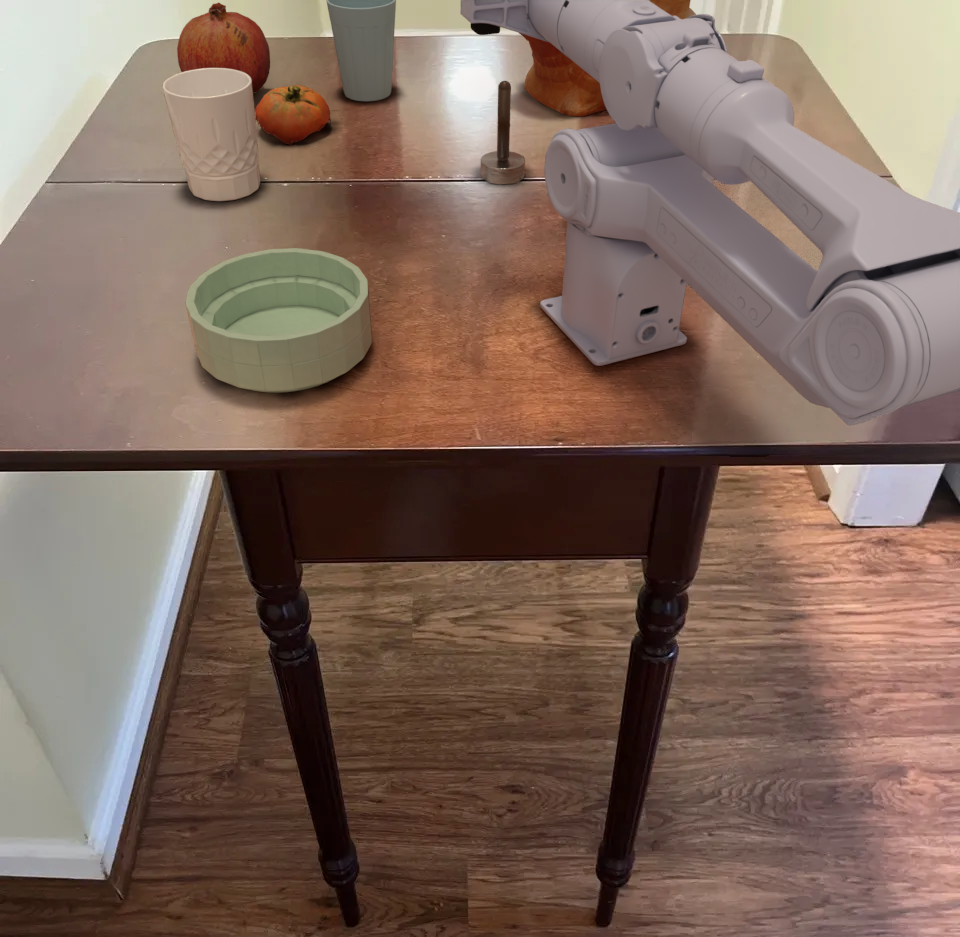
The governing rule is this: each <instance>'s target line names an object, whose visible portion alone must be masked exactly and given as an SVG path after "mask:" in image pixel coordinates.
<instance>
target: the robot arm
mask: <svg viewBox="0 0 960 937" xmlns="http://www.w3.org/2000/svg"><path fill="white" fill-rule="evenodd" d="M460 15H461V16H462V17H463V18H464V19H465V20H467V21H468V22H469V23H470V29H471V30H472V31H473V32H474V33H475V34H476V35H479V36H489V35H494V34H495V35H497V34H500V32H501V28H503V29H506V30H509V31H511V32H515V33H518V34H519V33H521V34H524V35H528V36H531V37H534V38H537V39H540V40H543V41H547V42H550V43H551V44H552V45H554V46H555V47H556V48H557V49H558V50H560V51H561V52H562V53H563V54H565V55H566V56H567V57H568V58H570V59H571V60H572V61H573V62H575V63H576V64H577V65H578V66H579V67H581V68H582V69H583V70H584V71H586V72H587V73H588V74H589V75H590V76H592V77H593V78H594V79H595V80H597V81H598V82H599V83H600V88H601V93H602V97H603V101H604V104H605V107H606V109H607V110H606V111H607V113H608V115H609V116H610V118H611V119H612V120H613V121H614V123H608V124H601V125H596V126H591V127H584V128H583V127H582V128H578V129H573V128H571V127H570V128H563V129H559V130H558V131H556V133H555V134H554V135H553V136H552V138H551V140H550V142H549V145H548V147H547V150H546V153H545V157H544V166H543V167H544V172H543V173H544V182H545V186H546V191H547V195H548V197H549V200H550V203H551V205H552V207H553V208H554V210H555V212H557V213H558V214H559V216H560V217H561V218H562V219H563V221H566V237H565V250H564V266H563V278H562V279H563V280H562V293H561V295H558V296H555V297H549V298H545V299H542V300H541V301H540V304H539V307H540V308H541V310H542V311H543V312H544V313H545V314H546V315H547V316H548V317H549V318H550V319H551V320H552V321H553V322H554V323H555V325H556V326H557V327H558V328H559V329H560V330H561V331H562V332H563V334H565V336H566V337H567V338H568V339H569V340H570V341H571V342H572V343H573V344H574V345H575V347H577V349H578V350H580V352H581V353H582V354H583V355H584V356H585V357H586V358H587V359H588V360H589V361H590V362H591V363H592V364H593V365H594V366H597V367H601V366H605V365H610V364H613V363H617V362H621V361H626V360H629V359H633V358H637V357H641V356H644V355H648V354H653V353H656V352H660V351H663V350H664V351H665V350H669V349H673V348H676V347H679V346H683V345H686V344H687V340H688V337H687V336H686V335H685V334H684V333H683V332H682V331H681V330H680V328H681V320H682V315H683V309H684V303H685V297H686V290H687V285H688V286H689V287H690V288H691V289H692V291H694V292H695V293H696V294H697V295H698V296H699V297H700V298H701V299H702V300H703V301H704V302H705V303H706V304H707V305H708V306H709V307H711V309H713V310H714V311H715V312H716V314H718V316H719V317H720V318H722V320H724V322H726V323H727V324H728V325H729V326H730V327H731V328H732V329H733V330H734V331H735V332H736V333H737V334H738V335H739V336H740V337H741V338H742V339H743V340H744V341H745V342H746V343H747V344H748V345H749V346H750V347H751V348H752V349H753V350H754V351H756V353H758V355H760V357H762V359H764V361H765V362H767V364H769V365H770V366H771V368H773V369H774V370H775V371H776V372H777V373H778V375H779V376H781V377H782V378H783V379H784V380H785V381H786V382H787V383H788V384H789V385H790V386H791V387H792V388H793V389H794V390H795V391H796V392H797V393H798V394H799V395H800V396H801V397H802V398H804V399H805V400H806V401H808V402H809V403H810V404H813V405H815V406H819V407H822V408H827V409H830V410H831V411H832V412H833V413H834V414H835V415H837V417H838V418H840V419H841V420H842V421H843V422H844V423H845V424H846V426H850V427H852V426H856V425H859V424H862V423H866V422H868V421H871V420H874V419H877V418H880V417H883V416H885V415H888V414H892V413H894V412H895V411H896V410H898V409H902V408H905V407H909V406H912V405H915V404H918V403H921V402H925V401H928V400H931V399H935V398H938V397H940V396H944V395H948V394H953V393H956V392H960V212H958V211H955V210H953V209H950V208H948V207H944V206H941V205H938V204H936V203H932V202H930V201H927V200H924V199H921V198H919V197H917V196H914V195H913V194H911V193H909V192H907V191H906V190H904V189H902V188H900V187H898V186H897V185H896V184H893V183H892V182H890V181H889V180H886V179H885V178H883V177H881V176H880V175H878V174H876V173H875V172H872V171H871V170H870V169H868V168H866V167H864V166H863V165H861V164H859V163H857V162H856V161H854V160H852V159H851V158H849V157H848V156H846V155H844V154H842V153H841V152H839V151H837V150H835V149H833V148H832V147H830V146H828V145H827V144H825V143H823V142H822V141H820V140H818V139H816V138H815V137H813V136H811V135H810V134H808V133H806V132H804V131H803V130H801V129H799V128H798V127H796V126H795V110H794V106H793V103H792V100H791V98H790V97H789V96H788V94H787V93H786V92H785V91H784V90H782V89H780V88H779V87H778V86H776V85H775V84H773V83H772V82H770V81H769V80H768V79H766V78H765V77H763V76H764V72H765V68H764V66H762V65H761V64H759V63H758V62H756V60H755V61H754V60H753V59H747V60H742V61H741V60H738V59H737V58H735V57H733V56H732V55H730V54H729V53H728V49H727V45H726V43H725V41H724V38H723V36H722V34H721V33H720V32H719V30H718V29H717V27H716V19H715V17H714V16H713V15H711V14H707V13H698V14H696V15H693V16H690V17H689V18H687V19H680V18H678V17H677V16H671V15H670V14H668V13H667V12H665V11H664V10H662V9H661V8H659V7H658V6H656V5H655V4H653V3H652V2H650V0H460ZM521 34H520V35H521ZM715 181H717V182H719V183H721V184H724V185H729V186H734V185H735V186H736V185H742V184H745V183H748V182H751V183H752V185H754V187H756V188H757V189H758V190H759V191H760V192H761V193H762V194H763V195H764V196H765V197H766V198H767V199H768V200H769V201H770V203H772V204H773V205H774V206H775V207H776V208H777V209H778V210H779V211H780V212H781V213H782V214H783V215H784V216H785V217H786V218H787V219H788V220H789V221H790V222H791V223H792V224H793V225H794V226H795V227H796V228H797V229H798V230H799V231H800V232H801V233H802V234H803V235H804V236H805V237H806V238H807V239H808V240H809V241H810V242H811V243H812V244H813V245H814V246H815V247H816V248H817V249H818V250H819V251H820V252H821V254H822V256H821V261H820V263H819V266H818V269H816V268H814V267H813V266H812V265H811V264H810V263H809V262H808V261H806V260H805V259H804V258H803V257H801V256H800V255H799V254H798V253H796V251H794V250H793V249H792V248H791V247H789V246H788V245H787V244H786V243H785V242H783V241H782V240H780V238H778V237H777V236H776V235H775V234H774V233H772V232H771V231H770V230H768V229H767V227H765V226H764V225H763V224H762V223H760V222H759V221H758V220H756V218H754V217H753V216H752V215H750V214H749V213H748V212H747V211H746V210H744V209H743V208H742V207H741V206H740V205H739V204H737V203H736V202H735V201H734V200H732V199H731V198H730V197H729V196H728V195H727V194H725V193H724V192H723V191H721V190H720V189H719V188H718V187H717V186H715V184H714V183H715Z"/></svg>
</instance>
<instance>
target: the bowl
mask: <svg viewBox="0 0 960 937" xmlns="http://www.w3.org/2000/svg"><path fill="white" fill-rule="evenodd" d="M184 304H185V308H186V313H187V317H188V321H189V325H190V330H191V333H192V340H193V345H194V349H195V353H196V355H197V358H198V361H199V363H200V366H201V367H202V368H203V369H204V370H205V371H207V372H208V373H209V374H210V375H211V376H212V377H214V378H215V379H217V380H219V381H221V382H224V383H226V384H228V385H231V386H234V387H237V388H239V389H243V390H244V389H245V390H248V391H255V392H260V393H273V394H274V393H275V394H278V393H292V392H298V391H304V390H309V389H312V388H315V387H319V386H321V385H324V384H327V383H329V382H331V381H333V380H336V378H338V377H340V376H343V375H344V374H346V373H347V372H349V371H350V370H352V369H353V368H354V367H355V366H356V365H357V364H358V363H360V362H361V361H362V360H363V359H364V358H365V356H366V355H367V353H368V351H369V349H370V347H371V345H372V344H373V337H372V336H373V331H372V330H373V328H372V315H371V314H372V313H371V302H370V291H369V281H368V279H367V277H366V276H365V274H364V273H363V271H362V270H361V268H360V267H359V266H357V265H355V264H354V263H352V262H351V261H349V259H346V258H345V257H343V256H339V255H336V254H333V253H330V252H327V251H323V250H316V249H315V250H314V249H308V248H298V247H297V248H296V247H287V248H270V249H264V250H259V251H254V252H253V251H252V252H248V253H243V254H240V255H238V256H235V257H231V258H229V259H226V260H223V261H221V262H218V263H217V264H215V265H214V266H212V267H211V268H209V269H208V270H205V271H204V272H202V273H201V274H200V275H199V276H198V277H197V278H196V280H194V281H193V283H192V284H191V285H190V286H189V288H188V290H187V294H186V297H185V302H184Z"/></svg>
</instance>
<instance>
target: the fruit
mask: <svg viewBox="0 0 960 937" xmlns="http://www.w3.org/2000/svg"><path fill="white" fill-rule="evenodd" d="M226 8H227V6H226V5H225V4H222V3H221V2H216V3H212V5H211V6H210V7H209V8H208V12H206V13H203V14H201V15H198V16H194V17H192V18H191V19H190V20H189V21H188V22H187V23H186V24H185V25H184V27H183V28H182V29H181V32H180V34H179V37H178V42H177V47H176V51H177V52H176V53H177V62H178V66H179V70H180V73H181V72H185V71H189V70H195V69H202V68H227V69H234V70H238V71H242V72H244V73H246V74H248V75H249V76H250V77H251V80H252V90H253V95H254V94H256V93H257V92H259V91H261V90H262V88H263V87H264V85H265V84H266V83H267V82H268V81H267V80H268V78H269V75H270V70H271V69H270V68H271V52H270V46H269V43H268V41H267V38H266V35H265V34H264V32H263V30H262V29H261V26H260V25H259V24H258V23H257V22H256V21H254V20H253V19H251V18H250V17H248V16H245V15H244V14H241V13H239V12H237V11H227V9H226Z"/></svg>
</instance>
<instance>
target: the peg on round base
mask: <svg viewBox="0 0 960 937" xmlns="http://www.w3.org/2000/svg"><path fill="white" fill-rule="evenodd" d="M511 98H512V85H511V83H510V82H509V81H508V80H501V81H500V82H499V84H498V87H497V126H496V127H497V130H496V135H497V136H496V150H495V151H491V152H487V153H485V154H483V155H482V156H481V157H480V177H481V179H483V181H485V182H488V183H490V184H495V185H512V184H515V183H518V182H520V181H522V180H524V178H525V175H526V174H525V173H526V158H525V157H524V156H523V155H522V154H520V153H518V152H514V151H511V150H510V140H511V139H510V137H511V134H510V133H511V105H512V104H511V102H512V101H511V100H512V99H511Z"/></svg>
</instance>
